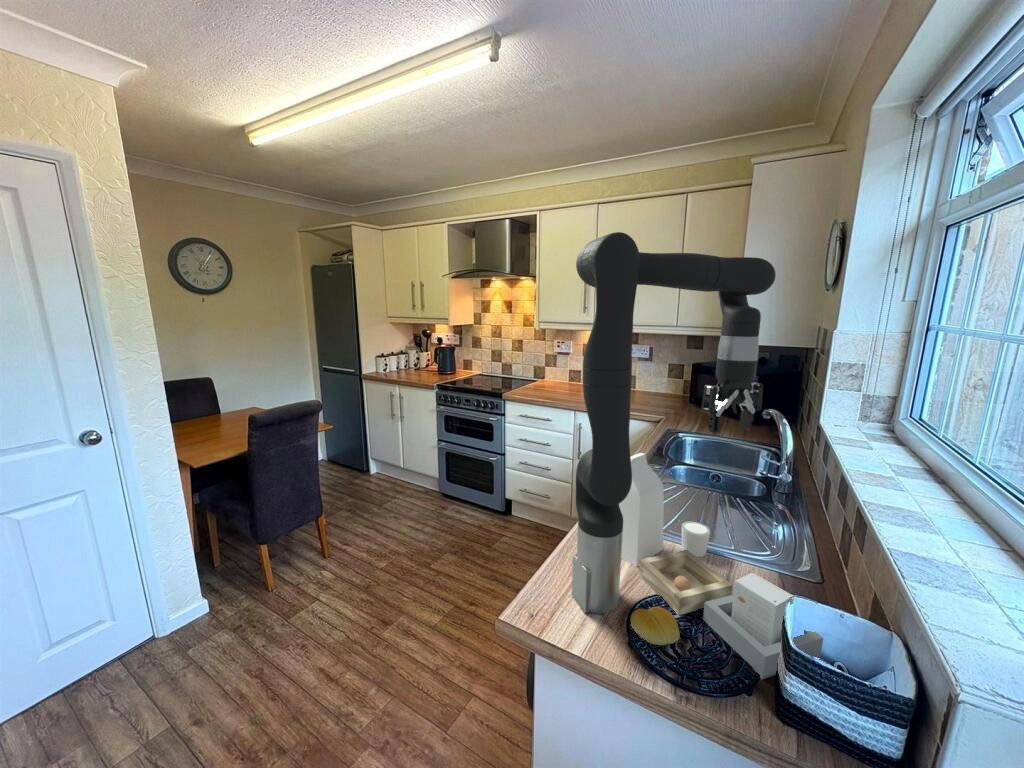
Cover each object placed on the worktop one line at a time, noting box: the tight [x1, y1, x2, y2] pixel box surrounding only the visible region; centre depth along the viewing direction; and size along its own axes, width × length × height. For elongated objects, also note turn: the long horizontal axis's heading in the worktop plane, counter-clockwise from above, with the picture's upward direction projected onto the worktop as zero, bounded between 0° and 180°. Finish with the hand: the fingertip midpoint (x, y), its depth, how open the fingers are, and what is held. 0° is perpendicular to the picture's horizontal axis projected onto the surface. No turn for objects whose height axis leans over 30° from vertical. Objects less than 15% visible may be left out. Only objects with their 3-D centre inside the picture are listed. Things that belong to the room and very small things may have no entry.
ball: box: [674, 576, 691, 591], centre depth 89 cm, size 3×3×3 cm
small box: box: [731, 572, 795, 647], centre depth 76 cm, size 8×6×10 cm
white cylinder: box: [681, 521, 711, 558], centre depth 104 cm, size 7×7×7 cm
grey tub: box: [702, 594, 824, 680], centre depth 76 cm, size 14×14×4 cm
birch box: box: [637, 550, 733, 616], centre depth 90 cm, size 14×14×4 cm
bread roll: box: [629, 606, 681, 646], centre depth 78 cm, size 8×9×4 cm
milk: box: [619, 452, 665, 568], centre depth 104 cm, size 12×12×26 cm
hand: (729, 430), depth 88 cm, fingers open, 8 cm apart
